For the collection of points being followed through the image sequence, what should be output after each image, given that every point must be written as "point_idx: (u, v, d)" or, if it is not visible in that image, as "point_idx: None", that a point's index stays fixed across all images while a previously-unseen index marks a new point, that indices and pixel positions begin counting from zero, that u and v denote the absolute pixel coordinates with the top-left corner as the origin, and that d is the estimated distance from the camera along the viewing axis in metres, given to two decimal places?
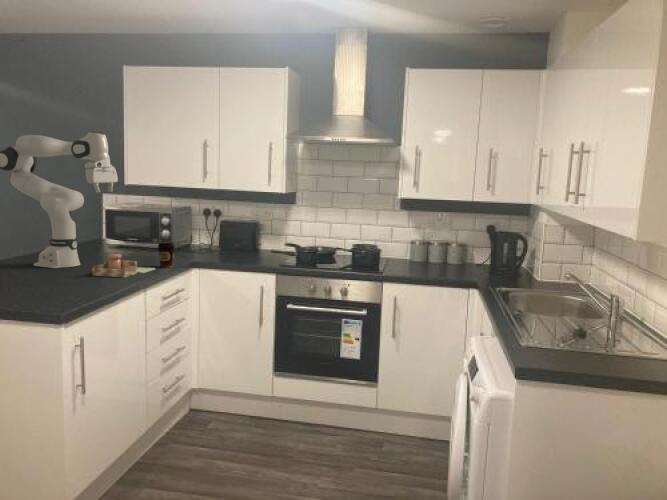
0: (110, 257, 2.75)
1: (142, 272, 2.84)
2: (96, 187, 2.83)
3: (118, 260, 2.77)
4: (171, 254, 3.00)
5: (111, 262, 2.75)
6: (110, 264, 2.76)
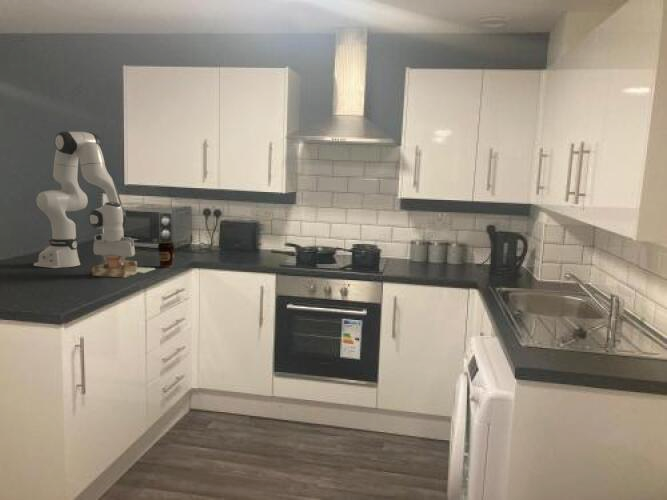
0: (110, 257, 2.75)
1: (142, 272, 2.84)
2: None
3: (118, 260, 2.77)
4: (171, 254, 3.00)
5: (111, 262, 2.75)
6: (110, 264, 2.76)
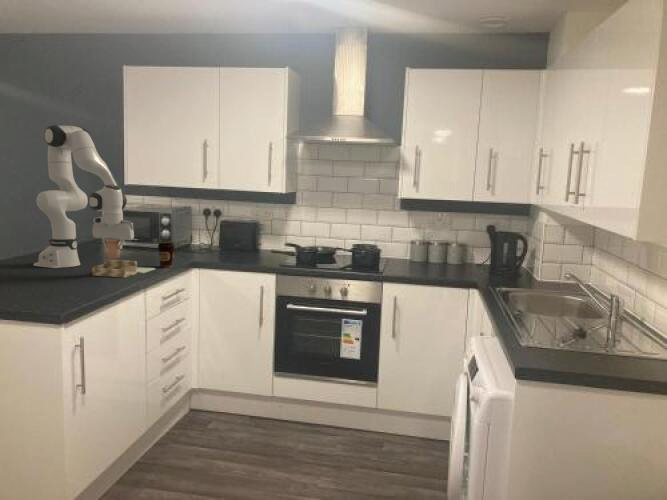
0: (109, 240, 2.74)
1: (142, 272, 2.84)
2: None
3: (117, 244, 2.76)
4: (171, 254, 3.00)
5: (110, 246, 2.75)
6: (109, 247, 2.75)
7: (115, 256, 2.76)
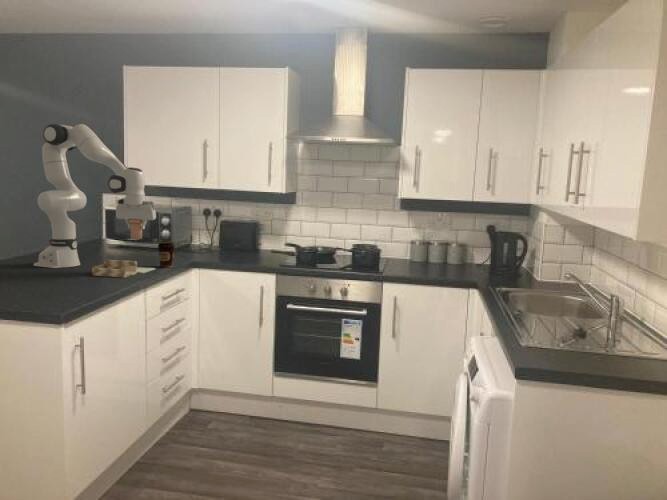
0: (132, 221, 2.83)
1: (142, 272, 2.84)
2: None
3: (140, 224, 2.85)
4: (171, 254, 3.00)
5: (133, 226, 2.84)
6: (132, 228, 2.84)
7: (138, 236, 2.85)
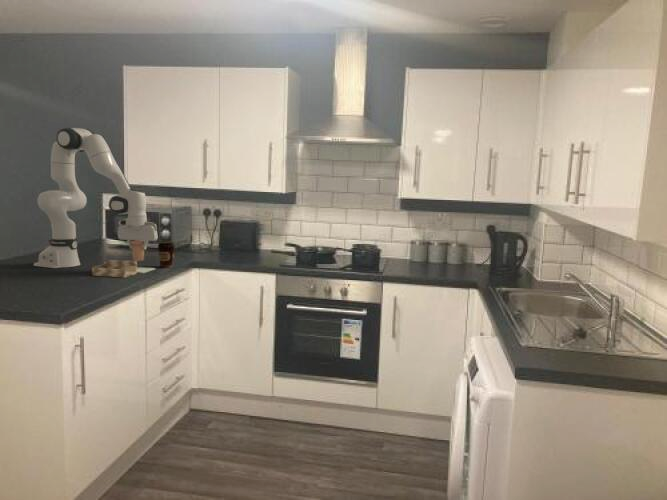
0: (134, 243, 2.86)
1: (142, 272, 2.84)
2: None
3: None
4: (171, 254, 3.00)
5: (135, 248, 2.86)
6: (134, 250, 2.87)
7: (140, 258, 2.88)
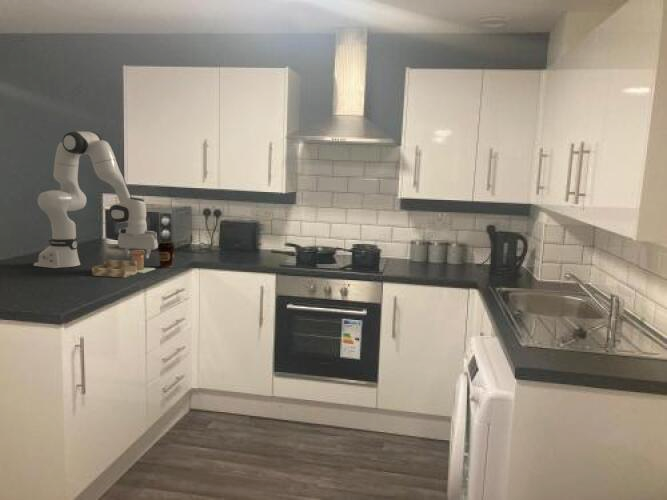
0: (134, 253, 2.86)
1: (142, 272, 2.84)
2: None
3: (141, 256, 2.88)
4: (171, 254, 3.00)
5: (135, 258, 2.87)
6: (134, 259, 2.87)
7: (140, 267, 2.88)
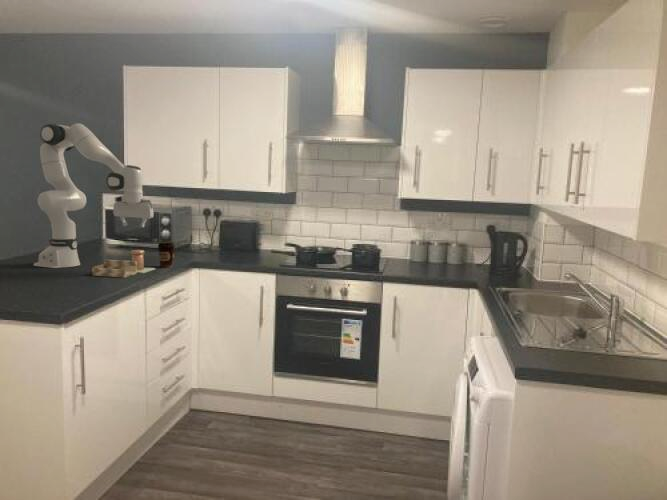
0: (134, 252, 2.86)
1: (142, 272, 2.84)
2: None
3: (141, 255, 2.88)
4: (171, 254, 3.00)
5: (135, 258, 2.87)
6: (134, 259, 2.87)
7: (140, 267, 2.88)
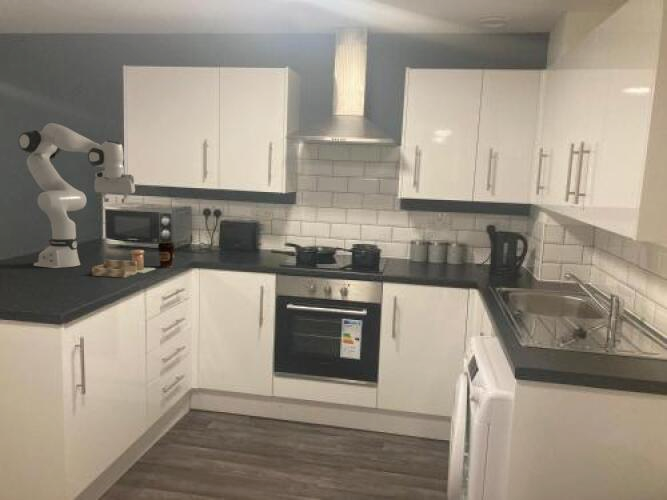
0: (133, 253, 2.86)
1: (142, 272, 2.84)
2: None
3: (141, 256, 2.88)
4: (171, 254, 3.00)
5: (135, 258, 2.87)
6: (133, 259, 2.87)
7: (140, 267, 2.88)
